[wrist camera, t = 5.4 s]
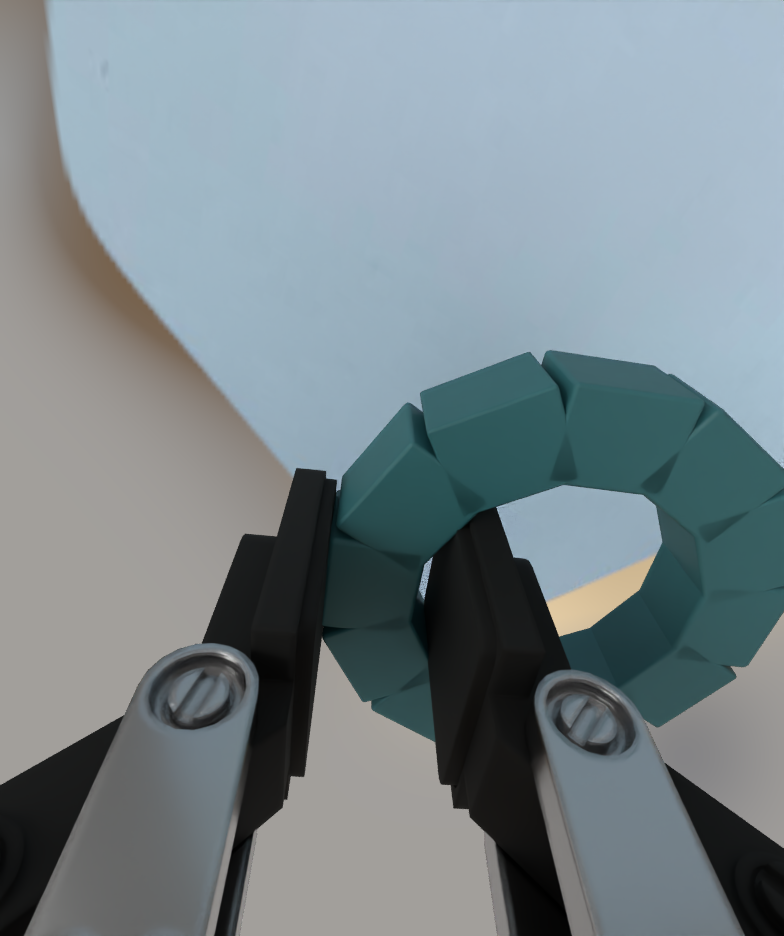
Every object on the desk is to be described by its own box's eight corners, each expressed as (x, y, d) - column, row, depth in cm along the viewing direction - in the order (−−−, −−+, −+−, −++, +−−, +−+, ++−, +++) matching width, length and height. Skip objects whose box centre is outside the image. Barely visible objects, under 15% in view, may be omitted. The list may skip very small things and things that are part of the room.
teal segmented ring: (313, 673, 12) (304, 738, 11) (355, 320, 8) (351, 349, 7) (648, 703, 13) (681, 768, 11) (828, 390, 9) (909, 430, 8)
